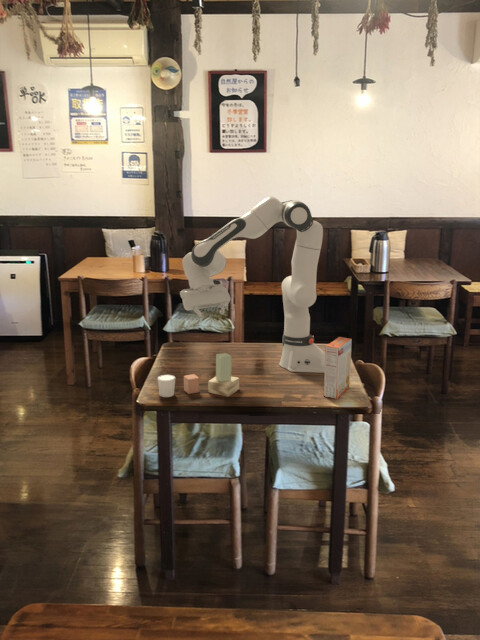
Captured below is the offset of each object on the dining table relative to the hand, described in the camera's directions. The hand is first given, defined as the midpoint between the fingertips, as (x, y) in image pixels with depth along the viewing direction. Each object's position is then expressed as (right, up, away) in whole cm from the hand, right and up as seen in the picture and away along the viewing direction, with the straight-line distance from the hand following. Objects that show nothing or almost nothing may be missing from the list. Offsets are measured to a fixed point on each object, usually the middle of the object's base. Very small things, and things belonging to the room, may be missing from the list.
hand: (212, 315), depth 252 cm
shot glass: (-17, -31, -13) cm, 37 cm away
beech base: (+5, -30, -8) cm, 32 cm away
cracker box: (+49, -31, -8) cm, 59 cm away
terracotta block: (-8, -30, -9) cm, 32 cm away
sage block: (+5, -25, -10) cm, 27 cm away
